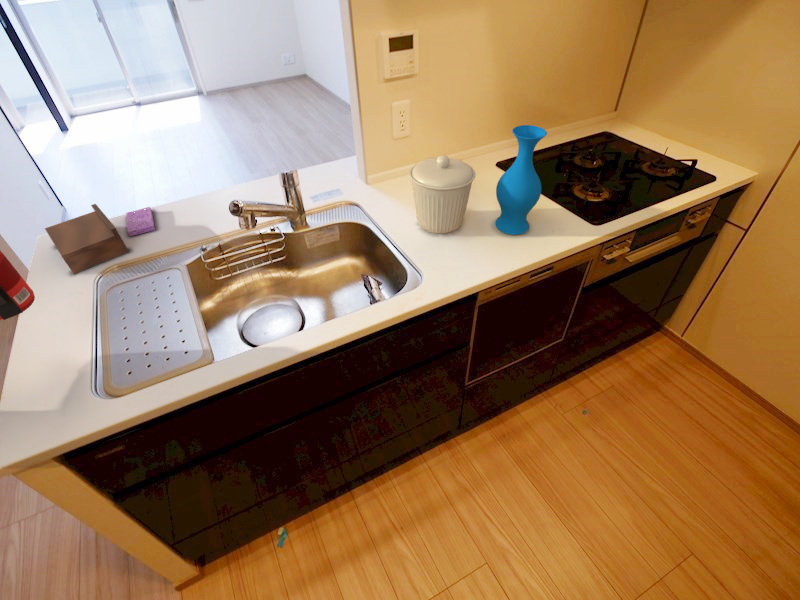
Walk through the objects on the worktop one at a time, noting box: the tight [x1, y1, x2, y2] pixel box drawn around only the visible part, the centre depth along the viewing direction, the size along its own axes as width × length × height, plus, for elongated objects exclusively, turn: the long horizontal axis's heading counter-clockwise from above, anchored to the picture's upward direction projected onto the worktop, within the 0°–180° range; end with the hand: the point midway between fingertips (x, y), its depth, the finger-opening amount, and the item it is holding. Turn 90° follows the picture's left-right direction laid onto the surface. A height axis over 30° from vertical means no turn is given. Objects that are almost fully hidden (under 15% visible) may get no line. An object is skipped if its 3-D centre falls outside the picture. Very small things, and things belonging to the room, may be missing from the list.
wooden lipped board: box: [44, 203, 130, 275], centre depth 118 cm, size 14×18×8 cm
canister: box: [408, 154, 477, 235], centre depth 120 cm, size 18×18×21 cm
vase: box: [494, 124, 548, 236], centre depth 116 cm, size 12×13×28 cm
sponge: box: [125, 206, 156, 237], centre depth 129 cm, size 7×13×2 cm, turn 28°
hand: (9, 302), depth 76 cm, fingers closed on canned food, 8 cm apart
